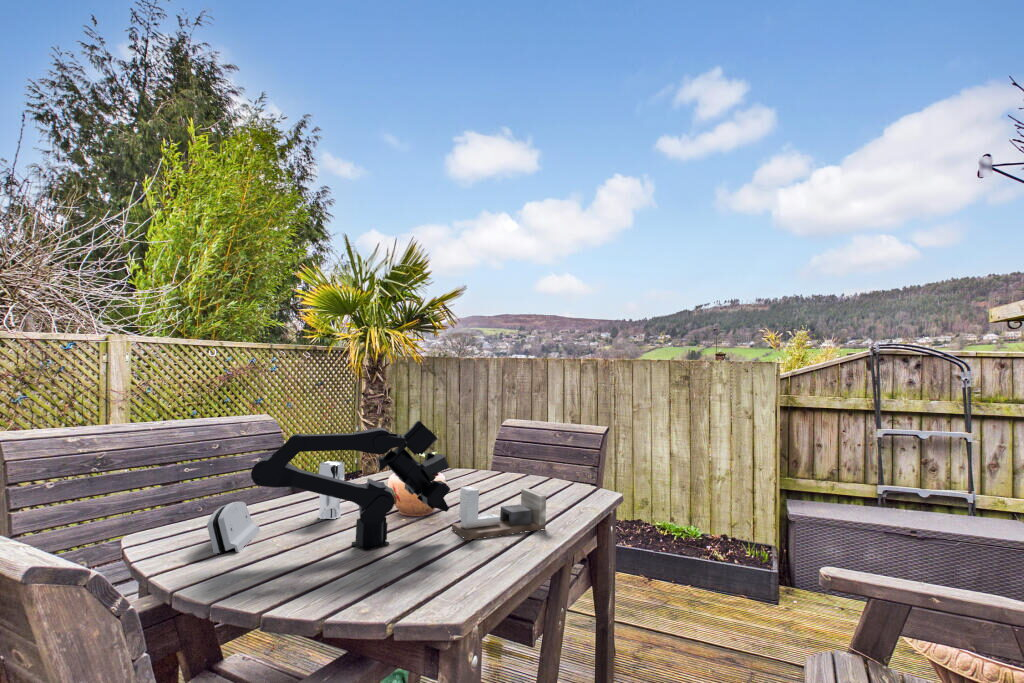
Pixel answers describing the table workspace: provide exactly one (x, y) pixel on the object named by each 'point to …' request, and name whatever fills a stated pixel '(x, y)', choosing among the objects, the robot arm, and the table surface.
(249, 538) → the grey rounded panel block
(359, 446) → the robot arm
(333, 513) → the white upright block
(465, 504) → the white l-shaped block
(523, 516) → the plate
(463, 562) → the table surface
